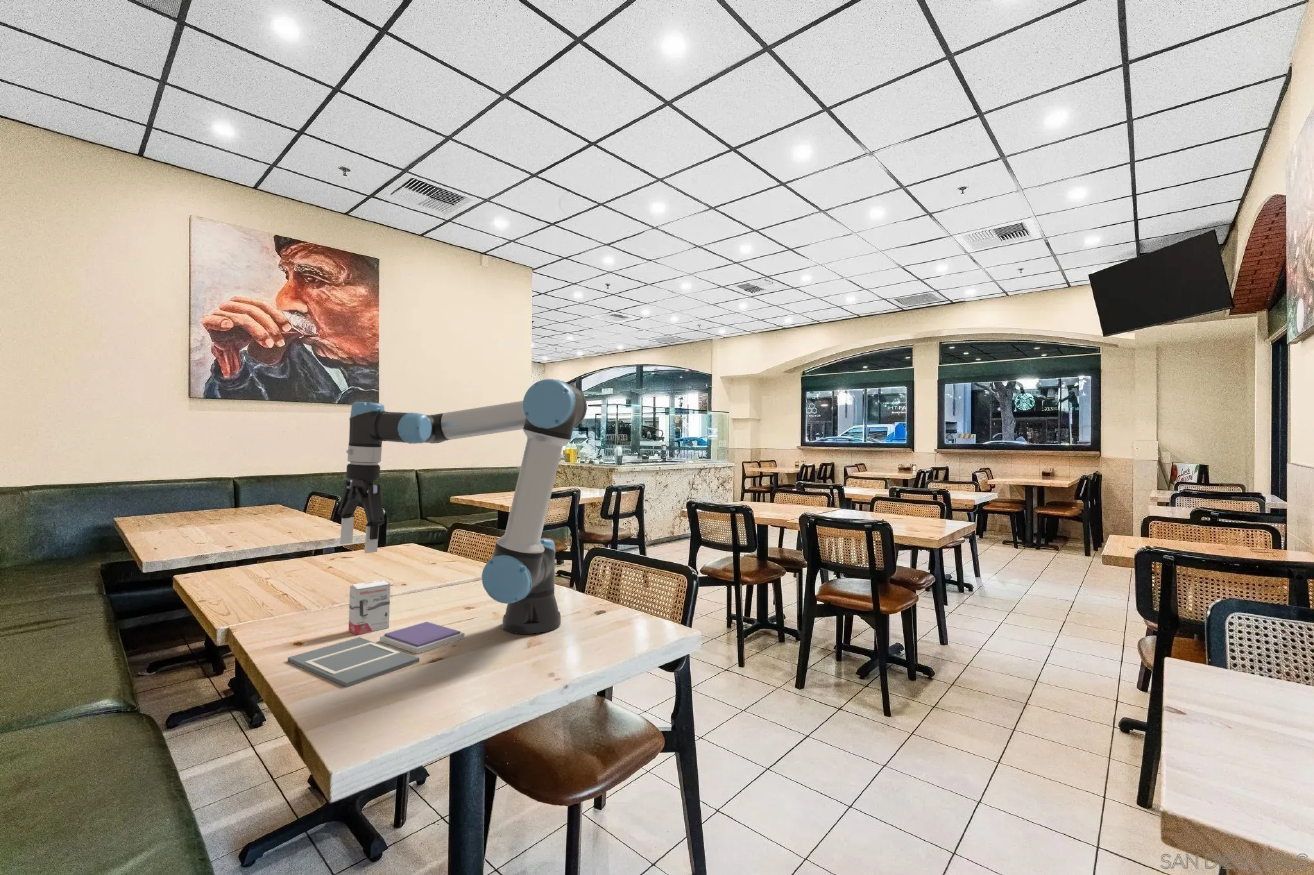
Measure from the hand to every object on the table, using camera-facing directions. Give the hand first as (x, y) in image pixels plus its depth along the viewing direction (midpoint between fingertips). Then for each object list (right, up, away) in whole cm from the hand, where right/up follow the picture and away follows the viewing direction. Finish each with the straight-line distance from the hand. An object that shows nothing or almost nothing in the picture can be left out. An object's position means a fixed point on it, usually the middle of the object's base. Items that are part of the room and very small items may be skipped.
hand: (358, 547), depth 142 cm
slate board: (+8, -22, -18) cm, 29 cm away
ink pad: (+18, -22, -3) cm, 28 cm away
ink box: (+1, -22, +4) cm, 22 cm away
